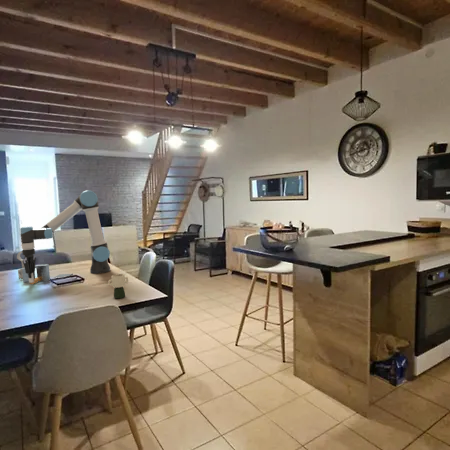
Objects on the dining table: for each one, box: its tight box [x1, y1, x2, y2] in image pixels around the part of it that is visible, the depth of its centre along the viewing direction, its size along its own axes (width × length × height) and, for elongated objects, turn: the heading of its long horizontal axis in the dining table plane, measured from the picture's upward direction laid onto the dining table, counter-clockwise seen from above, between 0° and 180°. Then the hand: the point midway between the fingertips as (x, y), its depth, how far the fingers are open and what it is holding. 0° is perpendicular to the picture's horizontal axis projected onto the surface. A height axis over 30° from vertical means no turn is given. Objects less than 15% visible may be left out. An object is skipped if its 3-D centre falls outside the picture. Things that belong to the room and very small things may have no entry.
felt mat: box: [53, 273, 73, 278], centre depth 246 cm, size 10×15×1 cm, turn 2°
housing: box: [21, 263, 51, 283], centre depth 235 cm, size 17×4×13 cm, turn 92°
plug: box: [29, 268, 42, 285], centre depth 235 cm, size 17×5×9 cm, turn 3°
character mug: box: [107, 273, 129, 299], centre depth 182 cm, size 11×7×13 cm, turn 121°
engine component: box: [16, 250, 25, 279], centre depth 251 cm, size 11×20×10 cm
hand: (31, 282), depth 226 cm, fingers closed
